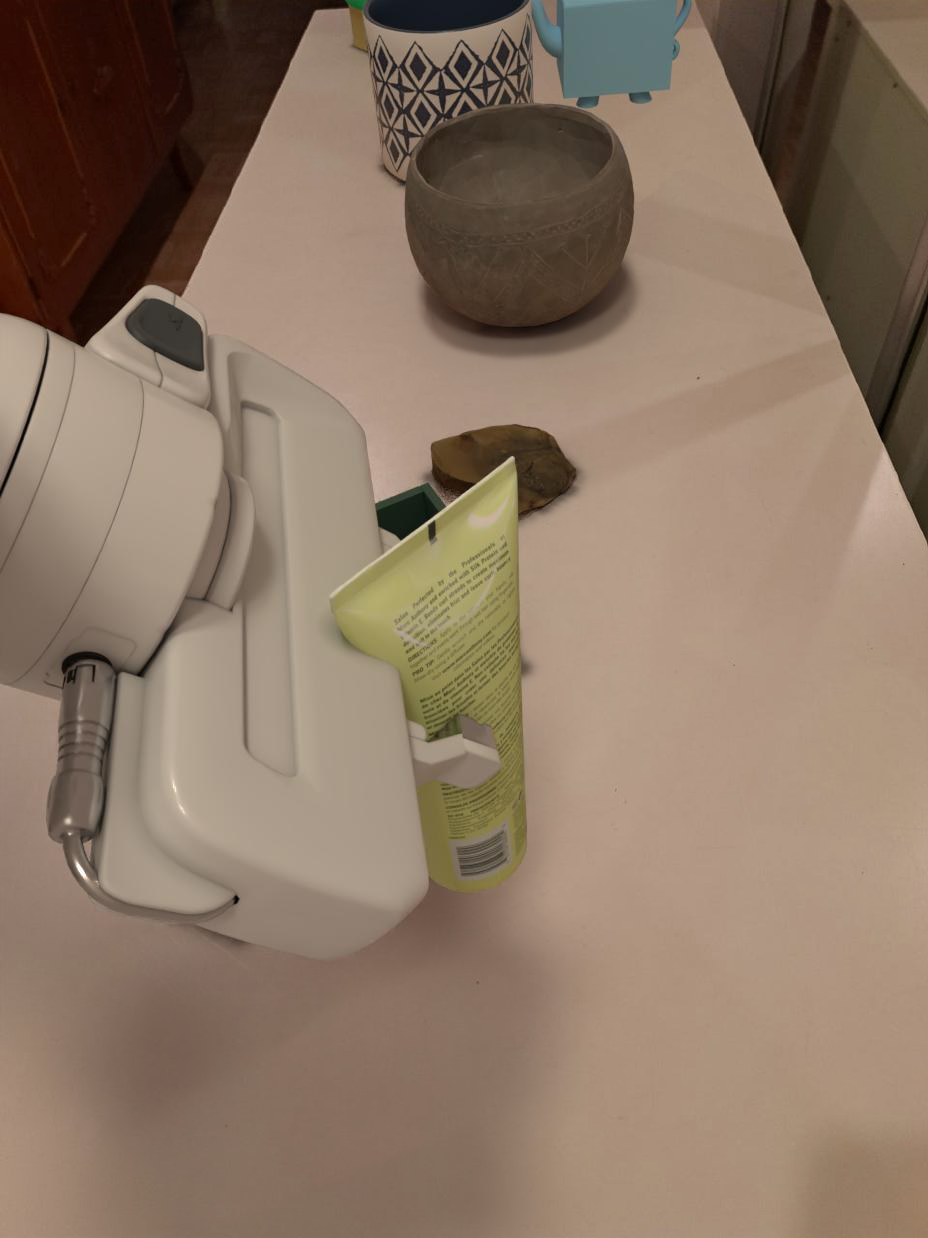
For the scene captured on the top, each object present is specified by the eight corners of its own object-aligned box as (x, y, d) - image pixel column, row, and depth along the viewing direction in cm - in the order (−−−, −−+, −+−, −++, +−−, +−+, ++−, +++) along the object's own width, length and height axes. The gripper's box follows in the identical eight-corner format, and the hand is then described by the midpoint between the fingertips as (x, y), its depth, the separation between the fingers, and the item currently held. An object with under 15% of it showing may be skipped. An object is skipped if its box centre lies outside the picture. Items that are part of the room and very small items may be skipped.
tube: (419, 780, 44) (350, 456, 29) (529, 780, 44) (516, 451, 29) (410, 897, 41) (326, 596, 26) (530, 898, 40) (515, 593, 25)
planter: (427, 208, 107) (409, 47, 94) (358, 150, 117) (334, -2, 105) (564, 161, 111) (565, 1, 99) (486, 109, 122) (477, -42, 109)
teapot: (676, 66, 126) (687, -57, 115) (691, 102, 119) (704, -27, 108) (510, 81, 127) (505, -41, 116) (514, 117, 120) (510, -9, 109)
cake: (342, 48, 139) (329, -32, 131) (399, 25, 143) (390, -54, 135) (383, 65, 134) (372, -17, 126) (441, 41, 138) (434, -40, 130)
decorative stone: (525, 425, 81) (523, 391, 79) (591, 485, 76) (592, 450, 73) (419, 474, 78) (414, 441, 76) (480, 540, 73) (477, 506, 70)
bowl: (453, 385, 86) (437, 226, 74) (390, 273, 99) (367, 122, 87) (665, 328, 89) (681, 166, 77) (577, 226, 102) (579, 74, 90)
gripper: (106, 825, 17) (611, 935, 25) (160, 253, 30) (481, 444, 38) (-27, 960, 20) (458, 1021, 28) (73, 390, 34) (386, 540, 42)
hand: (470, 686), depth 33 cm, fingers closed on tube, 5 cm apart
